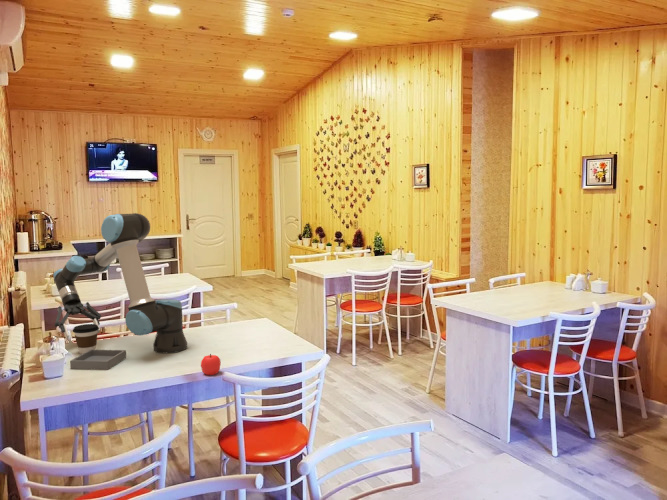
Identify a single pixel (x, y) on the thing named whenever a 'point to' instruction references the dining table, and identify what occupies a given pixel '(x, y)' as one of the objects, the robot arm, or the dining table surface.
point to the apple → (210, 364)
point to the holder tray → (98, 359)
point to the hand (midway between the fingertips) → (83, 334)
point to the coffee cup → (86, 337)
